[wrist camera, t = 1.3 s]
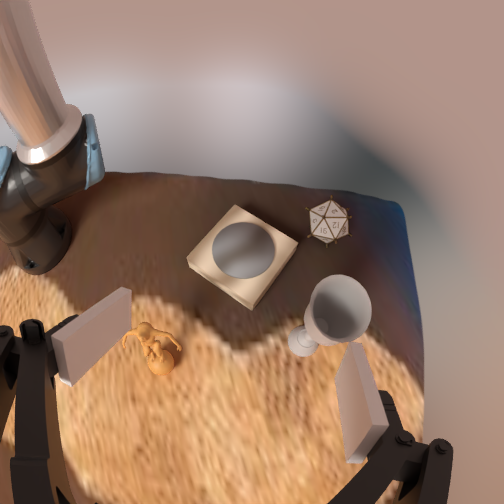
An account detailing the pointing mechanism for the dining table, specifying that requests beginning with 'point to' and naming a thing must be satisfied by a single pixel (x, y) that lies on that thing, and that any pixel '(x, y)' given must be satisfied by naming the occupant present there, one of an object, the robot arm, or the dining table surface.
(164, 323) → the dining table surface
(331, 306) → the chalice
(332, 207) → the game die
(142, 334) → the figurine
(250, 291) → the pedestal
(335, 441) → the dining table surface
